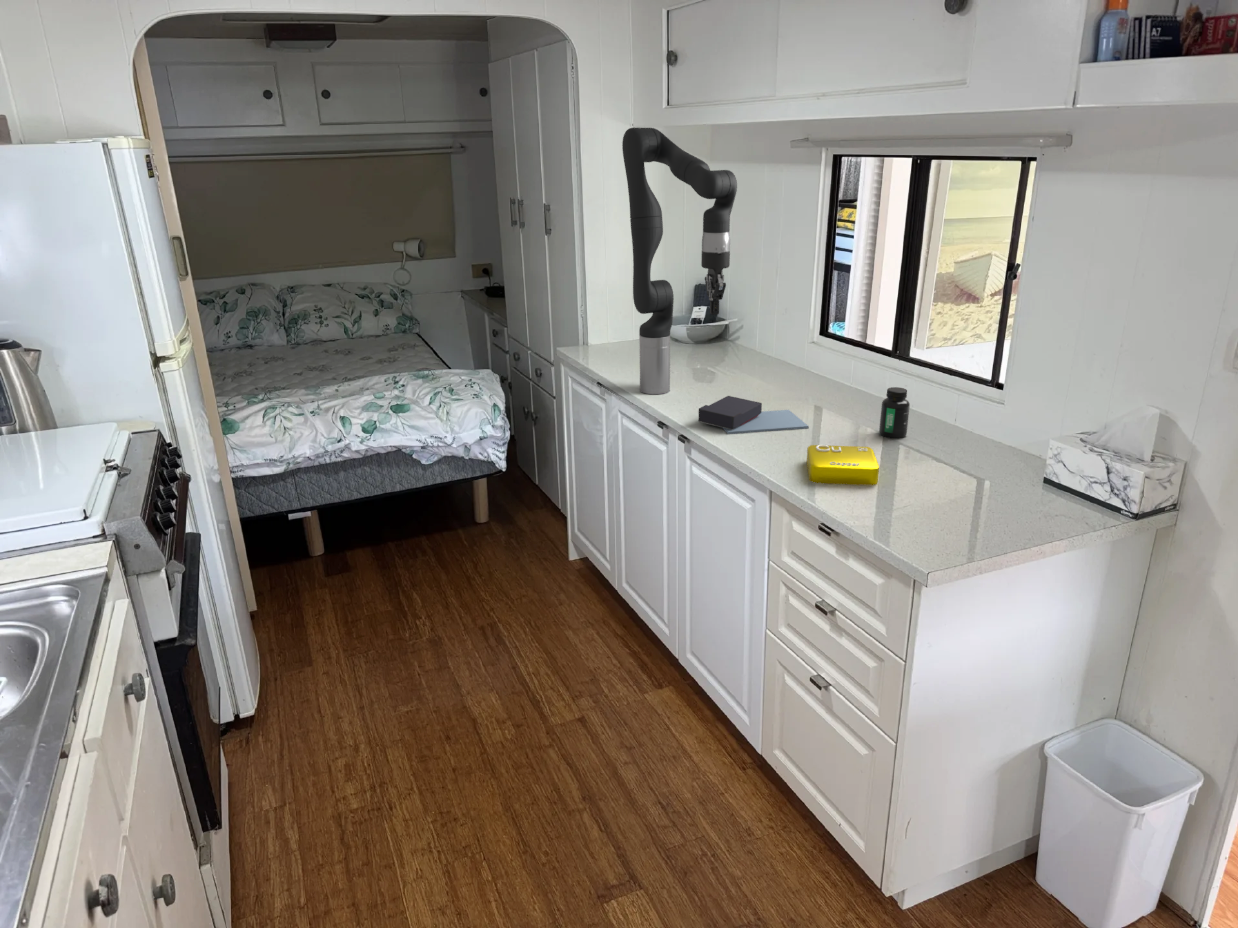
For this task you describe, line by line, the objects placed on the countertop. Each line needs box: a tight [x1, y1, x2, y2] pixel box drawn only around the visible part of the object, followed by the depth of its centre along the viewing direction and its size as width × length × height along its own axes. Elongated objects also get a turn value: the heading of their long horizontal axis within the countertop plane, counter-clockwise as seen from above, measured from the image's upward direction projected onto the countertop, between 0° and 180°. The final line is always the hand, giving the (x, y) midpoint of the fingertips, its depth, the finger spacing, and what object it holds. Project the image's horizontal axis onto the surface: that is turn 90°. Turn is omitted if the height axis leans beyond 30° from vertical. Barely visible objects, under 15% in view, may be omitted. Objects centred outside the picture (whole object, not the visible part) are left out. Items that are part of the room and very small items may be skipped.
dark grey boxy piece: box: [698, 395, 763, 430], centre depth 231 cm, size 11×4×15 cm
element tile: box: [806, 444, 880, 486], centre depth 196 cm, size 15×15×5 cm
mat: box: [721, 409, 810, 435], centre depth 231 cm, size 15×22×1 cm
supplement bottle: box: [878, 386, 911, 440], centre depth 218 cm, size 7×7×12 cm
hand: (714, 314), depth 234 cm, fingers closed
